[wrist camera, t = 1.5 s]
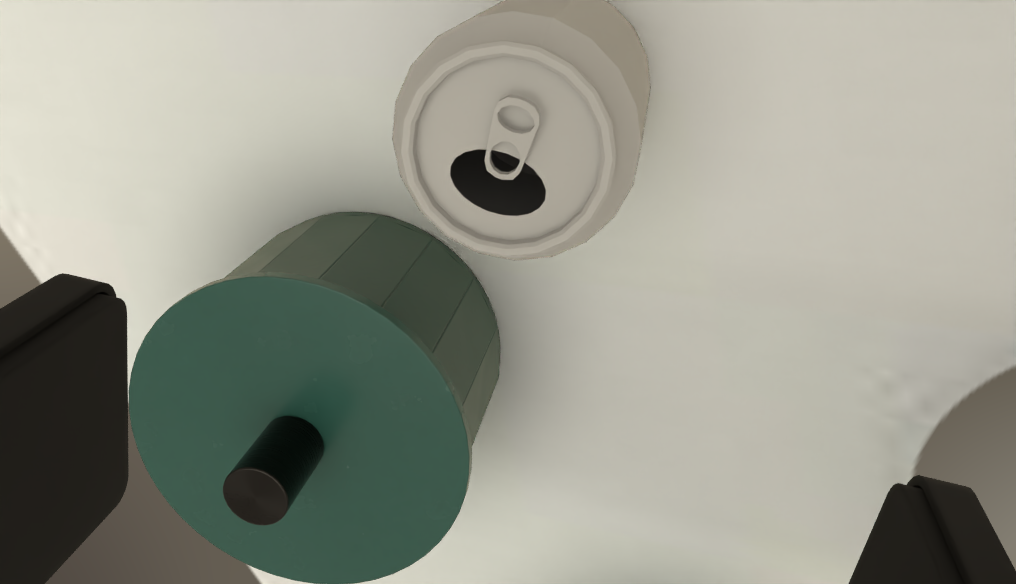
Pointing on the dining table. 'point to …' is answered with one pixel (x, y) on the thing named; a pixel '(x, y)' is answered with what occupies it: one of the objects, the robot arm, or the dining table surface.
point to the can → (524, 125)
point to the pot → (400, 290)
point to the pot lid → (300, 428)
